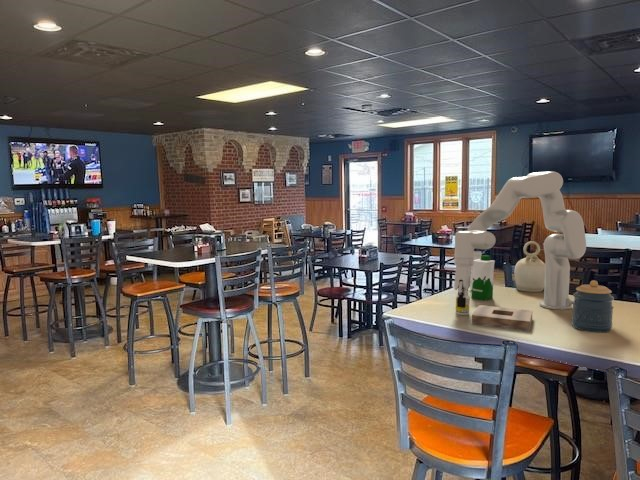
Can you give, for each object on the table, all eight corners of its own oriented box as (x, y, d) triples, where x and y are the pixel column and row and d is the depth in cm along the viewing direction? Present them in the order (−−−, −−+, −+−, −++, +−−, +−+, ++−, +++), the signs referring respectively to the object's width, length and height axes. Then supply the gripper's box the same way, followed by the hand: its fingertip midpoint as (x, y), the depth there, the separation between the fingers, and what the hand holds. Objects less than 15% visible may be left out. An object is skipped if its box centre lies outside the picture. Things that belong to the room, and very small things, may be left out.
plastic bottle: (484, 292, 236) (485, 252, 234) (470, 291, 237) (471, 252, 235) (482, 289, 242) (483, 250, 240) (468, 289, 243) (469, 250, 241)
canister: (573, 330, 170) (576, 282, 168) (569, 321, 182) (571, 276, 180) (615, 334, 165) (618, 284, 163) (608, 325, 177) (611, 278, 175)
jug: (544, 294, 231) (546, 243, 229) (510, 290, 240) (512, 241, 237) (548, 288, 244) (550, 240, 242) (516, 285, 252) (518, 239, 250)
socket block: (532, 319, 185) (532, 310, 185) (529, 331, 169) (529, 321, 169) (478, 313, 194) (479, 305, 194) (471, 324, 178) (471, 315, 178)
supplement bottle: (465, 315, 190) (466, 292, 189) (453, 313, 194) (454, 290, 193) (471, 313, 194) (472, 290, 193) (458, 311, 198) (459, 288, 197)
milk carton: (495, 298, 222) (496, 256, 220) (485, 301, 216) (487, 257, 214) (478, 295, 228) (479, 254, 226) (468, 298, 222) (469, 256, 220)
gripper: (458, 258, 201) (457, 300, 203) (450, 263, 186) (449, 309, 188) (476, 259, 198) (475, 302, 200) (470, 265, 183) (468, 311, 184)
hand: (462, 305), depth 194 cm, fingers closed on supplement bottle, 5 cm apart
